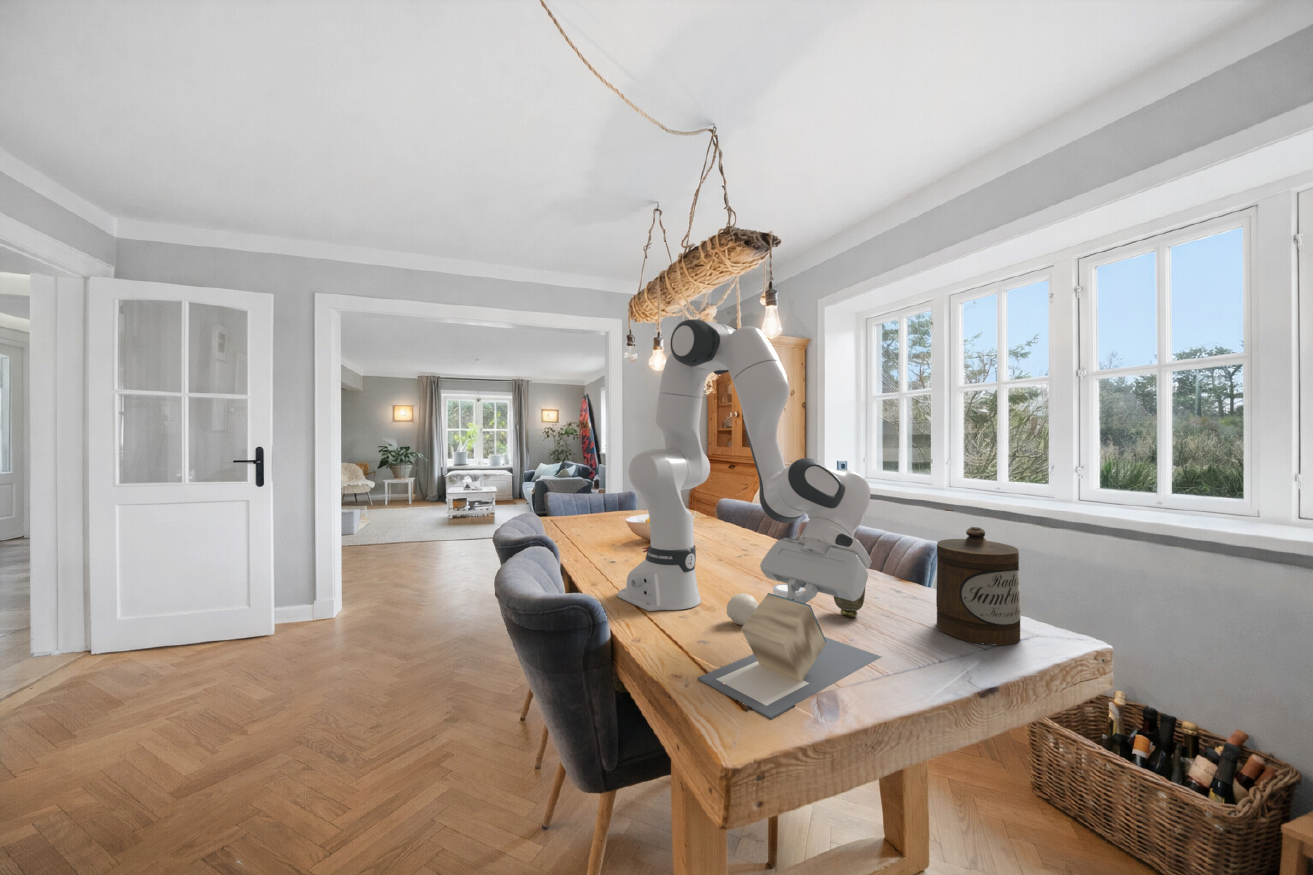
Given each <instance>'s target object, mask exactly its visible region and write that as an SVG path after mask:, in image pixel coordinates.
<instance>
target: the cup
mask: <svg viewBox="0 0 1313 875" xmlns="http://www.w3.org/2000/svg"><path fill="white" fill-rule="evenodd" d="M865 595H866V587H865V588H864V591H863V593H862V596H861V597H860V598H859V599H857V600H855V601H850V600H847V599H843V598H839V597H836V596H833V600H834V603H835V605H836V606H837V607H838V609H840V615H841V616H843V617H845V618H849V619H852V618H856V617H857V616H858V611H859V610H860V609H862V607H863V605H864V603H865Z"/></svg>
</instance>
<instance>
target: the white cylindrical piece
mask: <svg viewBox="0 0 1313 875" xmlns="http://www.w3.org/2000/svg"><path fill="white" fill-rule="evenodd" d="M772 590H773V591H772V592H773V593H772V594H774V595H777V596H781V597H784V598H786V597H787V595H788V586H787V583H781V584H780V583H779V584H776V585H773V586H772ZM804 591H805V588H802V587H800V589H799V591H796V596H799V595H801V594H802V593H803V592H804Z"/></svg>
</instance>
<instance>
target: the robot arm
mask: <svg viewBox="0 0 1313 875" xmlns="http://www.w3.org/2000/svg"><path fill="white" fill-rule="evenodd" d="M669 342H670V343H669V345H670V351H671V353H669V355H668V356H667V358H666V361H665V364H664V367H663V371H662V375H661V378H660V384H659V391H658V397H657V406H656V414H655V423H656V424H655V425H656V426H657V427H658V428H659V429H660V430H661V432H662V434H663V438H664V448H655V449H649V450H645V451H643V452H640V453H638V454H635V455H634V457H633V458H631V461H630V462H629V467H628V477H629V481H630V484H631V485H632V487H633V488H634V489H635V490H637V492H638V493H639V494H640V496H642V499H643V501H644V503H645V505H646V508H647V512H648V516H649V529H650V530H649V531H650V532H649V533H650V536H649V537H650V545H648V546H646V547H643V548H642V549H643V551H642V553H646V555H645V559H644V560H643V561H641V562H640V563H639V564H638V565H636V566H635V567H634V568H633V569H631V570H630V571H629V573H628V574H627V578H626V585H625V586H626V587H624V588H622V589H621V590H619V591H618V592H617V596H616V597H617V598H619V599H621V600H624V601H626V602H628V603H630V604H632V605H634V606H637V607H639V608H641V609H644V610H645V611H649V612H651V611H653V612H654V611H678V610H685V609H690V608H694V607H696V606H699V605H700V604H701V602H702V599H701V595H700V592H699V587H698V581H697V575H696V574H697V573H696V559H697V550H696V545H695V544H694V541H695V539H694V536H695V534H694V531H695V530H694V528H695V527H694V515H693V514H692V512H691V511H690V510H689V508H686V505H685V503H684V502H683V498H682V494H681V493H682V492H681V491H686V490H692V489H694V488H696V487H698V486H700V485H702V484H704V483H705V482H706V481H707V480H708V478H709V476H710V473H711V463H710V460H709V458H708V457H707V455H706V454H705V452H704V450H703V447H702V442H701V434H700V426H701V423H700V422H701V413H702V405H703V397H704V387H705V383H706V380H707V377H709V375H710V374H712V373H714V374H715V375H717V376H719V375H722V374H726V373H729V375H730V378H731V380H732V384H733V386H734V389H735V392H736V394H737V398H738V401H739V405H740V408H741V413H742V417H743V423H744V429H745V434H746V437H747V442H748V445H749V448H750V451H751V455H752V459H753V463H754V466H755V469H756V472H757V477H758V483H759V496H758V497H759V503H760V506H761V508H762V510H763V511H764V513H765V514H766V515H767V516H768V517H769V518H770V519H772V520H773V521H775V522H777V523H780V524H781V523H782V524H790V523H791V524H792V523H794V522H796V521H797V520H799V519H800V518H801V517H803V515H805V514H807V515H808V517H809V520H808V522H807V523H806V525H805V527H804V528H803V531H802V533H801V535H800V537H799V538H792V537H788V536H787V537H786V536H785V537H784V538H781V539H778V540H776V541H775V543H774V544H773V545H772V546H771V548H770V549H769V550H768V552H767V553H766V554H765V555H764V557H763V558H762V561H761V562H760V564H759V566H760V567H759V568H760V571H761V572H762V574H763V575H765V576H764V577H766V578H767V579H769V580H773V581H777V582H781V583H782V584H787V586H788V595H787V597H786V598H788V599H791V600H794V601H798V602H801V603H805V604H807V603H808V602H809V601H811V600H813V599H814V598H815V597H816V596H817V594H818V593H822V594H824V595H825V594H826V595H829V596H832V597H834V596H836V597H839V598H843V599H847V600H850V601H855V600H857V599H859V598H860V597H861V596H862V593H863V591H864V588H865V589H866V585H867V582H868V579H869V571H868V569H870V567H871V565H872V559H871V557H870V555H869V553H868V551H867V550H866V549H865V547H864V546H863V544H862V543H861V542H860V541H859V540H858V539H857V538H856V537H855V532H856V530H857V529H859V528H860V526H861V524H862V522H863V520H864V518H865V516H866V513H867V511H868V508H869V504H870V501H871V488H870V485H869V483H868V482H867V480H865V478H864V477H863V476H862V475H860V474H858V473H857V472H855V471H852V470H848V469H841V470H840V469H839V470H838V469H833V468H831V467H828V466H825V465H824V464H823V463H821V462H820V461H818V460H817V459H814V458H808V457H805V458H804V457H802V458H799V459H797V460H795V461H794V462H793V463H791V464H789V465H788V466H787V467H786V464H785V460H784V458H783V457H784V456H783V454H782V451H781V447H780V444H779V441H778V440H779V439H778V427H779V426H778V425H779V422H780V418H781V416H782V413H783V410H784V408H785V406H786V404H787V402H788V399H789V395H790V386H789V381H788V375H787V372H786V370H785V368H784V366H783V363H782V362H781V360H780V358H779V355H778V352H776V349H775V348H774V346H773V344H772V342H770V340H769V338H768V337H767V336H766V334H765V333H764V332H763V330H761V329H760V328H759V327H757V326H752V325H746V326H745V325H744V326H742V327H741V326H740V327H739V328H737V327H731V326H729V325H727V324H724V323H720V322H713V321H705V320H701V319H698V318H697V319H696V318H695V319H694V318H693V319H691V318H690V319H686V320H683V321H681V322H679V323H678V324H677V325H676V326H675V327H674V329H673V332H672V334H671V336H670V341H669ZM800 587H802V588H803V589H804V592H803V593H802V594H801V595H799V596H796V591H799V589H800Z"/></svg>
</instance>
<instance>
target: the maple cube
mask: <svg viewBox="0 0 1313 875" xmlns="http://www.w3.org/2000/svg"><path fill="white" fill-rule="evenodd" d="M758 605H759V606H758V607H757V608H756V610H755V611H754V612H753V614H752V615H751V616H750V618H749V619H748V620H747V621H746V623H745V624H744V625H742V627H741V628H740V630H741V632H742V634H743V635H744V637H745V639H746V642H747V643H748V646H749V648H750V649H751V651H752V653H753V654H754V655H755V657H756V659H757V661H758V663H759V664H760V665H762V666H764V667H766V668H769V669H771V670H773V671H776V672H778V673H780V674H782V675H785V676H787V677H789V678H791V679H794V680H796V681H798V682H802V681H803V679H804V678H805V676H806V674H807V673H808V671H809V670H810V668H811V666H812V665H813V663H814V662H815V660H816V659H817V657H818V655H819V654H820V652H821V651H822V649H823V647H824V646H825V644H826V643H827V642H826V640H825V637H826V636H825V635H824V633H823V631H822V628H821V627H820V624H819V622H818V620H817V617H816V615H815V613H814V611H813V608H812V606H811V604H808V603H806V604H805V603H801V602H798V601H794V600H791V599H788V598H784V597H781V596H777V595H774V593H770V592H768V593H767V594H766V595H765V597H764V598H763V599H762V601H761V602H760V603H758Z"/></svg>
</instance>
